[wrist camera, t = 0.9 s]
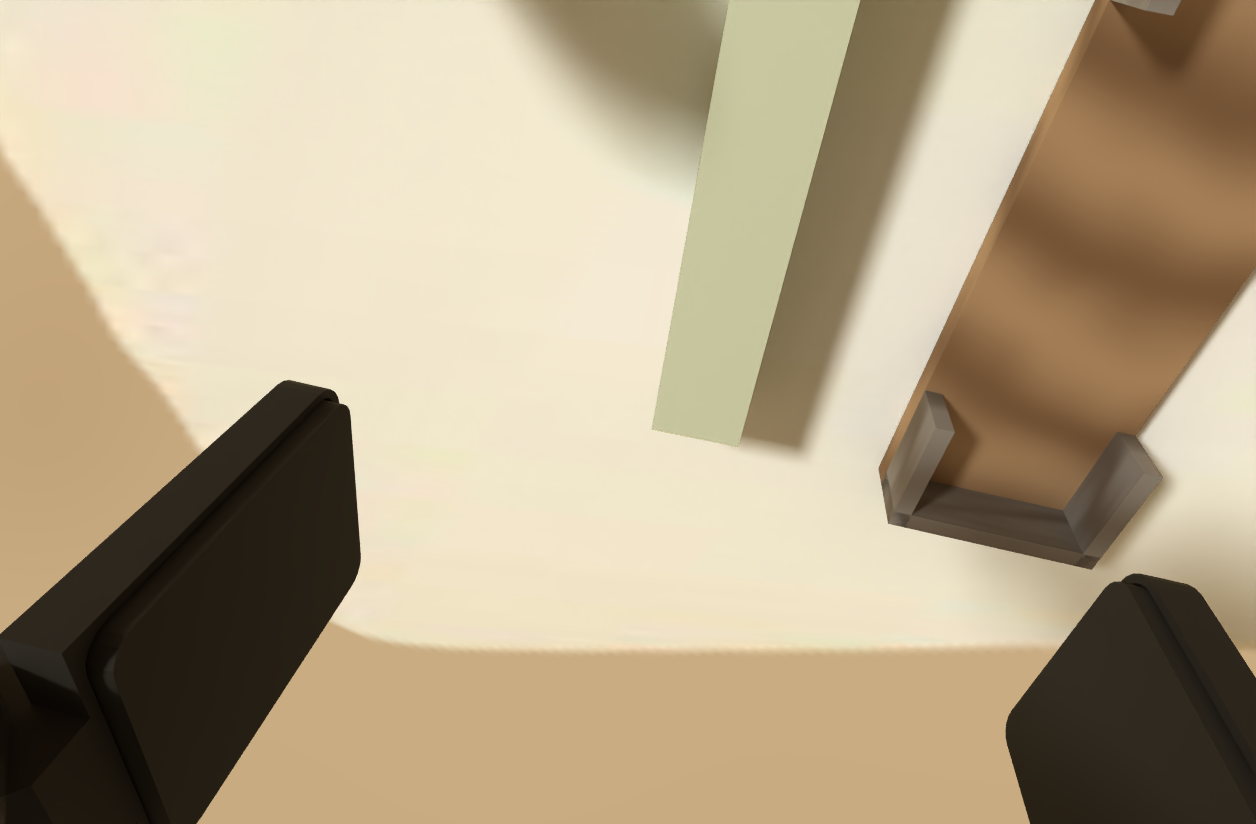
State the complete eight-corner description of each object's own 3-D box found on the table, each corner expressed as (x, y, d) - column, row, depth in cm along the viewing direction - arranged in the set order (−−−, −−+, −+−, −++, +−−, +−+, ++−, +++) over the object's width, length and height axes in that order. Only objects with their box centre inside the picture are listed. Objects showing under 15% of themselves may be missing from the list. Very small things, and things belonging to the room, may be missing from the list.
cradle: (1198, -223, 22) (1274, -246, 18) (1531, -167, 21) (1672, -180, 18) (878, 468, 38) (888, 523, 35) (1063, 509, 38) (1091, 569, 34)
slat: (765, -174, 24) (763, -189, 20) (885, -157, 24) (906, -169, 20) (665, 372, 37) (651, 429, 33) (742, 387, 37) (738, 447, 33)
